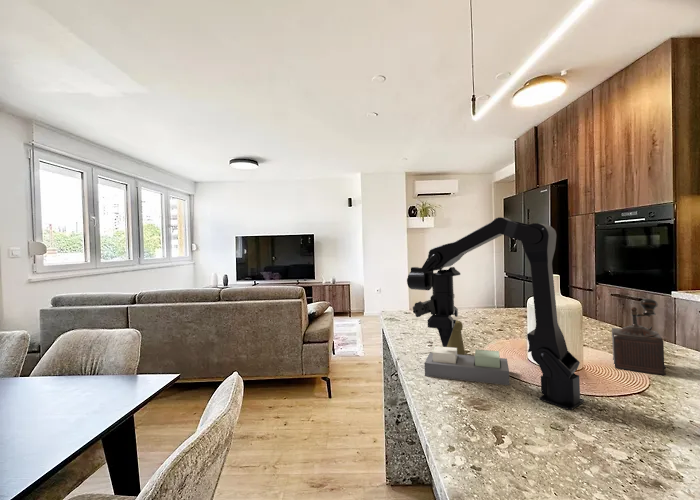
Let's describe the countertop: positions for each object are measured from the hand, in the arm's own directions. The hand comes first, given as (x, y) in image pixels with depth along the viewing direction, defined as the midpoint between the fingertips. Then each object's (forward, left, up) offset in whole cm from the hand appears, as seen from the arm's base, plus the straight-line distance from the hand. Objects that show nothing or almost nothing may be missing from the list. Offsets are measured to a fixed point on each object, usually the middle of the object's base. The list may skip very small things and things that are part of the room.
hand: (444, 346), depth 93 cm
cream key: (0, 0, -4) cm, 4 cm away
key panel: (-4, -3, -7) cm, 9 cm away
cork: (+9, -14, -7) cm, 18 cm away
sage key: (-9, -6, -4) cm, 12 cm away
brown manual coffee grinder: (-29, -47, -7) cm, 55 cm away
